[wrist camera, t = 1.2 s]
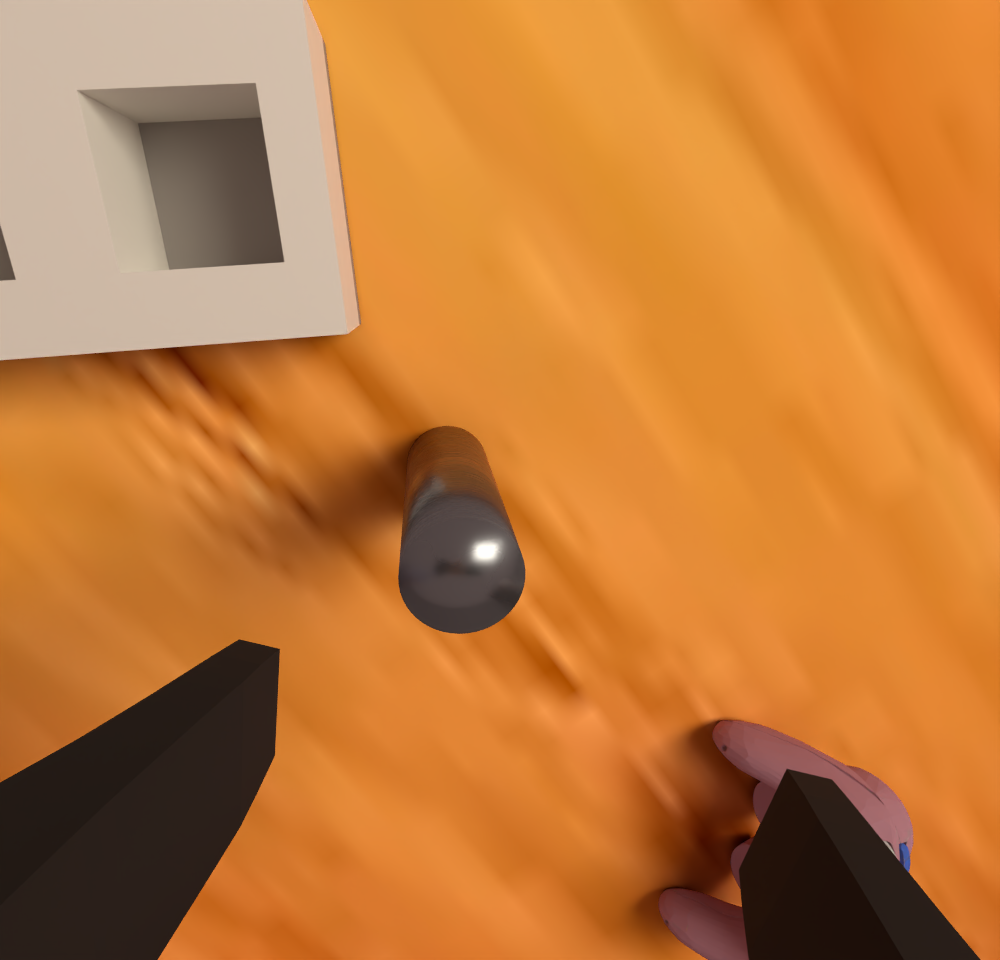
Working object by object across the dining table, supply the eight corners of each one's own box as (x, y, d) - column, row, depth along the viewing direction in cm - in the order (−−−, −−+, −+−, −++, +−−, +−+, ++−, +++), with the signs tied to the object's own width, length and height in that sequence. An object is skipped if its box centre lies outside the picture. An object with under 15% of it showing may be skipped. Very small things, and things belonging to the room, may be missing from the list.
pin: (411, 505, 20) (406, 640, 13) (402, 429, 20) (391, 525, 12) (489, 498, 21) (528, 625, 13) (483, 422, 20) (521, 511, 12)
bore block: (361, 323, 19) (347, 334, 15) (-75, 356, 18) (-191, 374, 14) (325, 44, 16) (300, -15, 13) (-175, 62, 15) (-338, 3, 12)
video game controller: (713, 874, 29) (864, 1027, 24) (643, 914, 26) (795, 1096, 21) (777, 688, 26) (965, 812, 21) (706, 713, 24) (900, 862, 18)
